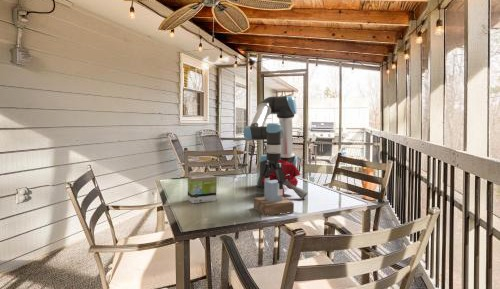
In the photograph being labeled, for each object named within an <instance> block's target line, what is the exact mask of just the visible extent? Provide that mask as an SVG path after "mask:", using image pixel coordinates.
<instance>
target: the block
mask: <svg viewBox="0 0 500 289" xmlns="http://www.w3.org/2000/svg"><path fill="white" fill-rule="evenodd" d="M277 183H278V180H268V181H264V188H263V190H264V191H263V194H264V195H263V197H264V199H265V200H267V201H269V202H277V201H282V195H279V196H278V195H277Z"/></svg>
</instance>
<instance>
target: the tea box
mask: <svg viewBox="0 0 500 289" xmlns="http://www.w3.org/2000/svg"><path fill="white" fill-rule="evenodd" d="M187 200H188V201H189V202H190V203H191V204H197V203H207V202H216V201H217V176H214V175H213V174H201V175H199V174H198V175H188V176H187Z"/></svg>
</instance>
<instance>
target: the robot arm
mask: <svg viewBox="0 0 500 289" xmlns="http://www.w3.org/2000/svg"><path fill="white" fill-rule="evenodd" d="M297 111H298V110H297V102H296V98H295V96H293V95H289V96H288V95H279V96H274V95H273V96H267V97H266V98H264V99H262V100H261V101H260V102H259V103H258V104H257V106H256V113H255V115H254V116H253V119H252V121H251V123H250V125H246V126H244V128H243V138H244V139H245V140H250V141H252V140H253V141H257V140H258V141H261V140H262V141H263V140H264V141H266V146H265V147H266V152H267V153H265V154H262V155H260V156H259V162H258V163H259V164H258V165H259V166H258V167H259V175H258V179H257V182H256V187H257V188H261V189H264V183H263V181H262V179H263V176H264V178H265V181H268V180H270V178H269V177H270V174H271V172H272V170H273V171H274V172H275V174H276V177H277V180H278V183H277V195H278V196H279V195H283V188H284V185H283V182H286V180H285V176H284V172H283V167H282V163H279V160H284V161H287V162H289V163H290V164H291V163H293V164H294V165H295V166H296V167H297V162H298V156H297V155H296V154H295V152H294V151H293V148H294V147H293V142H294V141H293V118H294V117H295V115H297V113H298V112H297ZM270 115H276V117H277V119H278V122H279V123H277V122H276V123H275V122H273V123H271V122H270V123H267V124H266V121H267V119H268V117H269V116H270ZM265 124H266V126H265Z"/></svg>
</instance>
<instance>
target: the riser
mask: <svg viewBox="0 0 500 289" xmlns="http://www.w3.org/2000/svg"><path fill="white" fill-rule="evenodd" d="M294 204H295V203H294V202H293V201H291V200H289V199H287V198H286V197H284V196H283V197H282V201H277V202H269V201H267V200H265V199H264V196H260V197H255V198H253V208H254V209H255V210H257V211H258V213H260V212H261V213H260V214H262V215H263V214H264V215H263V216H265V217H268V216H267V215H271V216H274V215H273V214H279V215H281V214H280V213H287V212H294V211H295V209H294V208H295V205H294ZM294 213H295V212H294ZM287 214H288V213H287Z"/></svg>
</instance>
